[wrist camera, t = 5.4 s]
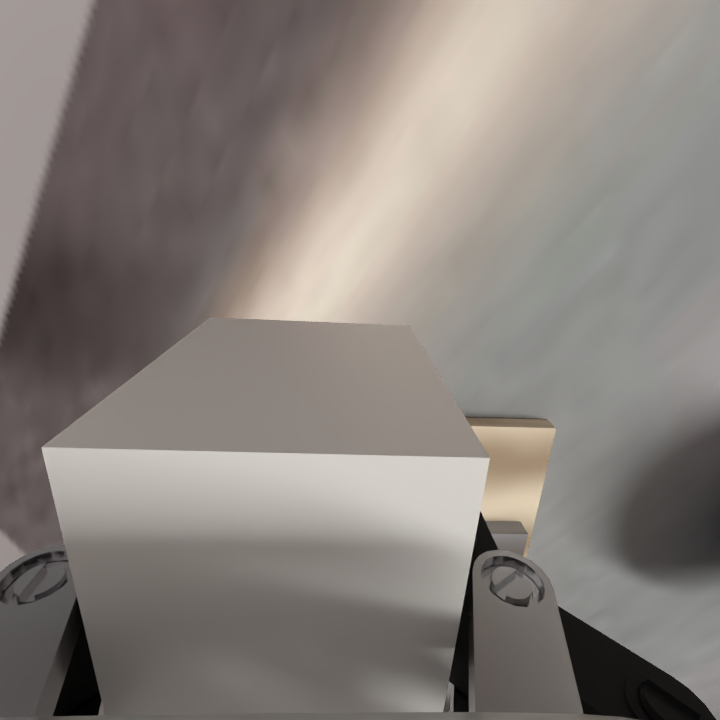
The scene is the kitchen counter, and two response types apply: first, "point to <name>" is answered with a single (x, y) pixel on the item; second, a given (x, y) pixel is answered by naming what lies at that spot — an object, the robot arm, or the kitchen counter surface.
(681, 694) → the robot arm
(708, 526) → the kitchen counter surface
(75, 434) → the block
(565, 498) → the kitchen counter surface
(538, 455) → the din panel
